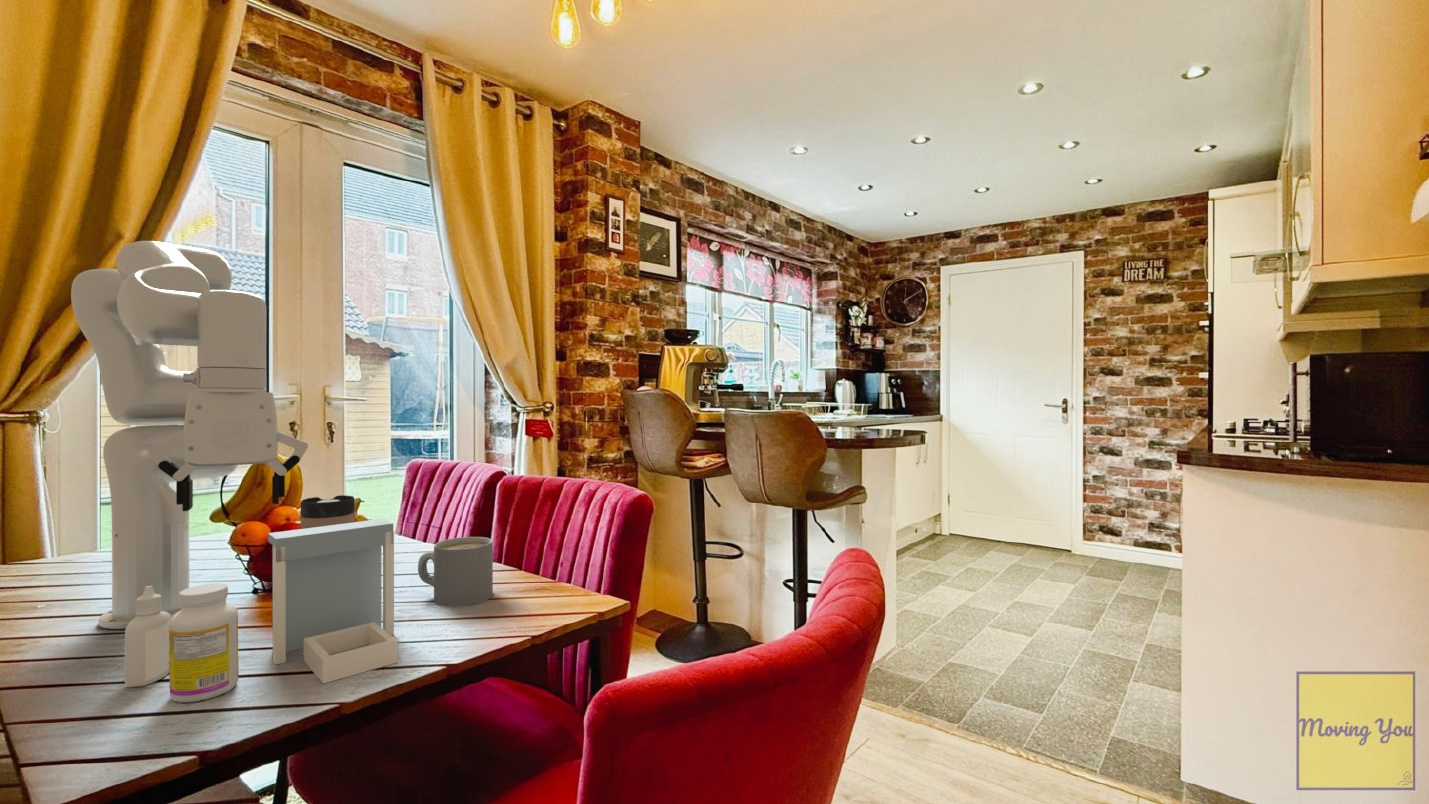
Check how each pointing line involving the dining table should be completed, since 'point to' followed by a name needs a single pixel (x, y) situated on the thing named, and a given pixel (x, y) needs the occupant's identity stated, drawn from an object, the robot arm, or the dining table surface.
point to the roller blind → (330, 581)
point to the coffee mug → (460, 571)
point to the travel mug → (327, 511)
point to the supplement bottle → (203, 644)
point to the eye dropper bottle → (147, 642)
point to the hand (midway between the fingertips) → (233, 506)
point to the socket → (350, 651)
